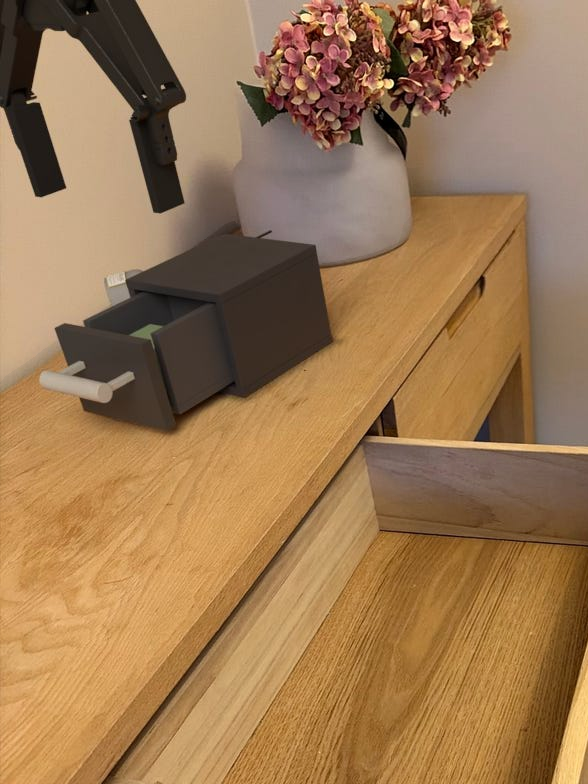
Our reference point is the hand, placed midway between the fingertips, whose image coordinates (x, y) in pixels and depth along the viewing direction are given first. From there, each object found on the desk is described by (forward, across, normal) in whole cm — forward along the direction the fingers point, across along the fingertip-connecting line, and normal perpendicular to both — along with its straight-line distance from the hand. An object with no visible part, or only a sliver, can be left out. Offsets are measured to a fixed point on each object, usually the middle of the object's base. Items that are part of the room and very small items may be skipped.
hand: (108, 200), depth 80 cm
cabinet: (+18, +1, +10) cm, 21 cm away
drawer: (+17, 0, -1) cm, 17 cm away
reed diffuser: (+18, -13, +19) cm, 30 cm away
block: (+16, 0, 0) cm, 16 cm away
